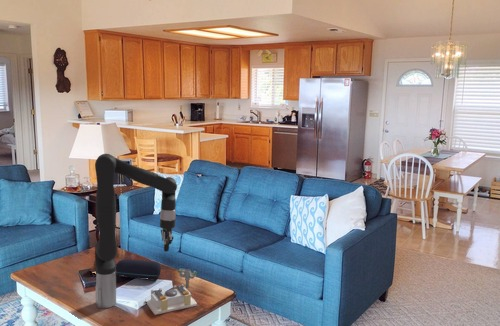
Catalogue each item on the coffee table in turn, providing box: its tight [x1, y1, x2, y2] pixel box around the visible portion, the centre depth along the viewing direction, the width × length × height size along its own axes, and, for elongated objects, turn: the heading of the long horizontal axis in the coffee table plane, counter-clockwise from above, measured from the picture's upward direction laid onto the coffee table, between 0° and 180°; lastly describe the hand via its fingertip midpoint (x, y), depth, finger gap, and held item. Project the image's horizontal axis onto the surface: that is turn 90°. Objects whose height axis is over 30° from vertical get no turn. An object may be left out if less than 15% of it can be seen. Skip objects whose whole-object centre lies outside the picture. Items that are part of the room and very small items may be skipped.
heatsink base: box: [146, 283, 198, 316], centre depth 226 cm, size 22×15×6 cm
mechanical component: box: [177, 268, 198, 289], centre depth 244 cm, size 3×10×10 cm, turn 78°
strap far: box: [176, 285, 190, 296], centre depth 228 cm, size 2×12×2 cm, turn 30°
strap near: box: [154, 289, 166, 300], centre depth 222 cm, size 2×12×2 cm, turn 30°
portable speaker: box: [116, 258, 162, 280], centre depth 254 cm, size 25×10×10 cm, turn 85°
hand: (166, 250), depth 225 cm, fingers closed
